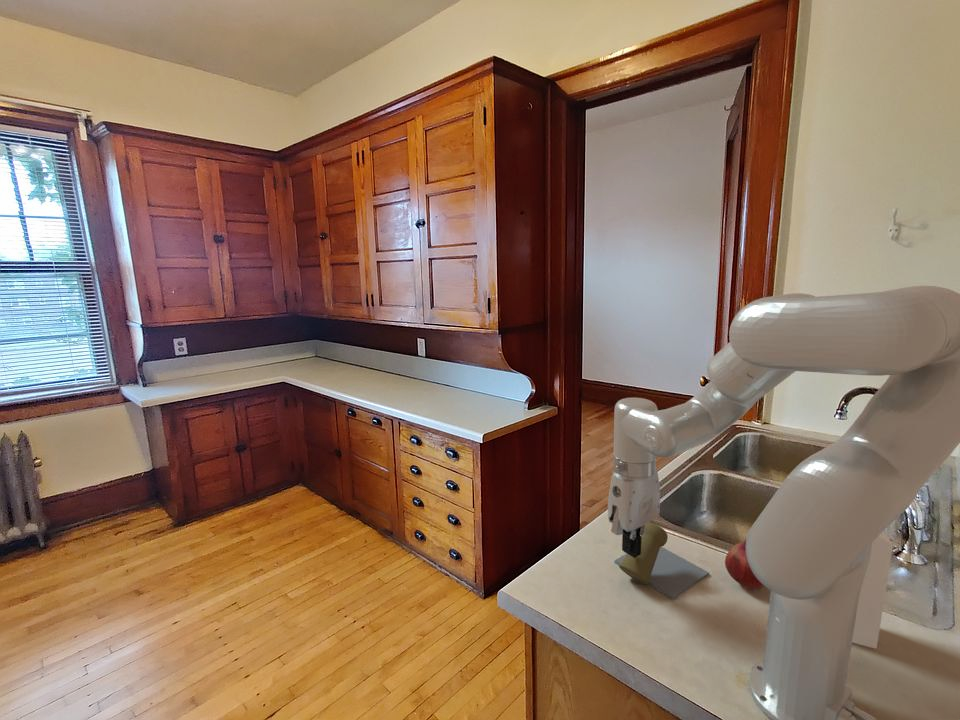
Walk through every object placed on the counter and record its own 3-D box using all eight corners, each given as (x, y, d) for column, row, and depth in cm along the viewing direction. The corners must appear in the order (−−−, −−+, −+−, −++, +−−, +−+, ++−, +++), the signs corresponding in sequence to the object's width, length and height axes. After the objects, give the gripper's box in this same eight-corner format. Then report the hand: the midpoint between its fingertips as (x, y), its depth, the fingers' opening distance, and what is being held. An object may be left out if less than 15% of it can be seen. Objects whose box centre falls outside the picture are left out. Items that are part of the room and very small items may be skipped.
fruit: (780, 590, 90) (785, 543, 88) (752, 604, 87) (757, 556, 84) (741, 567, 97) (745, 523, 95) (714, 579, 94) (718, 534, 92)
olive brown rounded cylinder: (639, 584, 95) (664, 536, 99) (652, 585, 89) (677, 535, 93) (614, 564, 96) (639, 519, 99) (625, 565, 90) (651, 517, 94)
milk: (831, 638, 78) (846, 518, 74) (824, 613, 84) (837, 500, 79) (877, 649, 76) (896, 526, 71) (867, 623, 81) (883, 507, 77)
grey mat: (709, 574, 95) (709, 572, 95) (673, 599, 89) (673, 597, 88) (650, 542, 106) (650, 540, 106) (614, 562, 100) (614, 560, 100)
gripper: (624, 483, 80) (621, 578, 84) (676, 460, 88) (671, 548, 92) (590, 468, 86) (589, 558, 90) (642, 448, 94) (639, 531, 98)
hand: (631, 552), depth 91 cm, fingers closed
